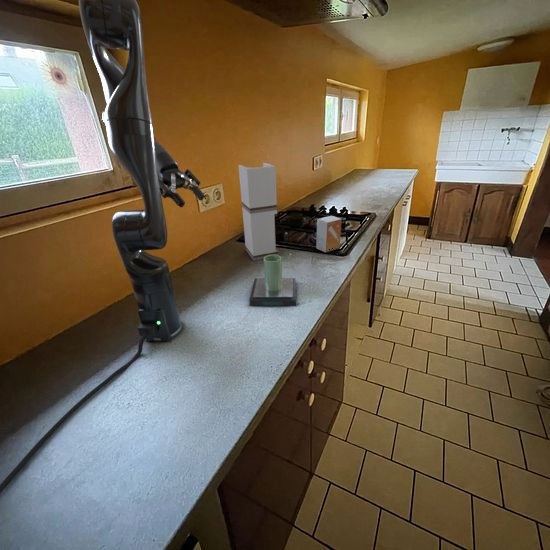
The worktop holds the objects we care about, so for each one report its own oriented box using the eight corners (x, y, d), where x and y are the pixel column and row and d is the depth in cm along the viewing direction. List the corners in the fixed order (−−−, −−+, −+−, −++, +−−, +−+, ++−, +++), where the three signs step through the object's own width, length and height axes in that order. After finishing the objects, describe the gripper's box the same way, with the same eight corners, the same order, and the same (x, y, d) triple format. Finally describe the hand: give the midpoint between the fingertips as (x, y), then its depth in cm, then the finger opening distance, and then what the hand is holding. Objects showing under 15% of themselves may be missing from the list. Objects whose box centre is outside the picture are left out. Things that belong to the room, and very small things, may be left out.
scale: (296, 306, 90) (296, 299, 89) (249, 306, 91) (249, 299, 90) (295, 283, 103) (295, 276, 102) (254, 283, 104) (254, 276, 103)
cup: (281, 290, 94) (281, 261, 89) (264, 291, 94) (262, 262, 89) (282, 282, 98) (281, 254, 94) (266, 282, 99) (264, 254, 94)
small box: (325, 253, 124) (327, 222, 118) (315, 248, 129) (316, 218, 123) (340, 248, 128) (342, 218, 122) (329, 244, 133) (331, 215, 127)
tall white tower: (278, 256, 124) (275, 166, 107) (253, 260, 120) (246, 169, 104) (269, 246, 133) (265, 162, 117) (246, 250, 130) (238, 165, 114)
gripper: (142, 153, 82) (181, 199, 82) (180, 148, 93) (214, 188, 93) (134, 173, 87) (171, 216, 87) (170, 165, 98) (203, 204, 98)
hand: (193, 201), depth 90 cm, fingers open, 8 cm apart
